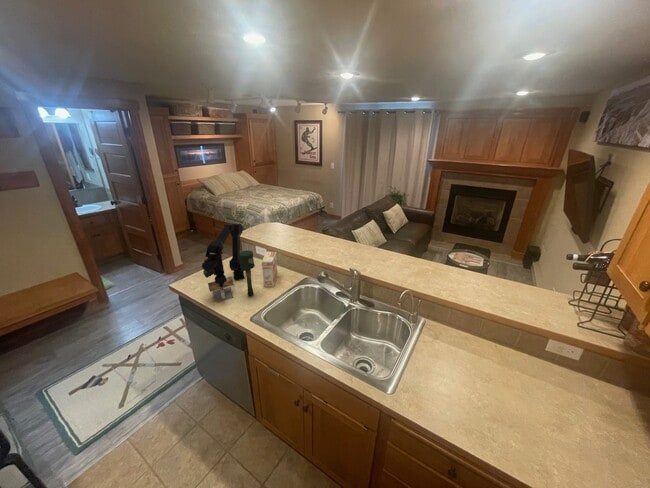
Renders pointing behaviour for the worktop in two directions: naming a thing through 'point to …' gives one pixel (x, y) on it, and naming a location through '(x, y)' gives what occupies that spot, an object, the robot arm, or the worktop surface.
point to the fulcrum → (222, 294)
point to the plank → (214, 286)
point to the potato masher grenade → (247, 268)
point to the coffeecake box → (269, 269)
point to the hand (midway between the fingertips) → (221, 285)
